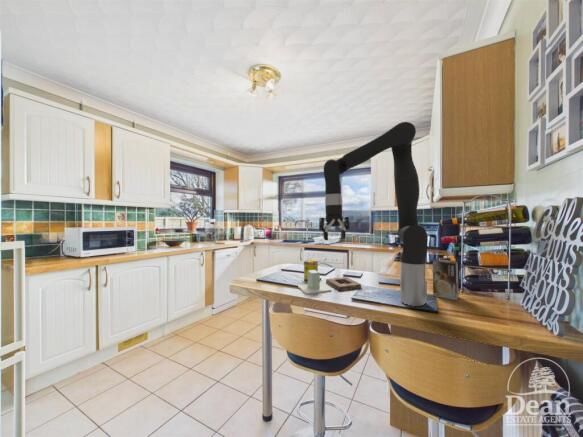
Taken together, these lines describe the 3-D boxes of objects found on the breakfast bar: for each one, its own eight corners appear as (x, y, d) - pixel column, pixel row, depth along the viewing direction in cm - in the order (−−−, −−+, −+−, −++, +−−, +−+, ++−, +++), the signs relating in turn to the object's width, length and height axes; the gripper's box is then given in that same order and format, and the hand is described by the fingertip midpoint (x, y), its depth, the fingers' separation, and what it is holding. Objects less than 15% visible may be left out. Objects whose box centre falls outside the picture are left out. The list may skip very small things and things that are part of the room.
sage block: (314, 285, 121) (314, 269, 121) (319, 288, 116) (319, 272, 115) (307, 285, 120) (307, 270, 120) (312, 289, 114) (312, 273, 114)
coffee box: (458, 296, 104) (459, 261, 104) (456, 301, 100) (456, 263, 99) (435, 292, 111) (435, 258, 110) (432, 295, 106) (432, 261, 106)
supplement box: (312, 282, 129) (312, 262, 129) (303, 280, 133) (303, 261, 133) (318, 279, 134) (318, 260, 134) (309, 277, 138) (309, 259, 137)
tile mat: (319, 283, 126) (319, 282, 126) (330, 291, 114) (330, 289, 114) (297, 286, 122) (297, 284, 122) (306, 294, 110) (306, 292, 109)
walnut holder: (346, 280, 132) (346, 276, 132) (361, 288, 118) (361, 284, 118) (326, 282, 128) (326, 279, 128) (339, 290, 114) (339, 286, 114)
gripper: (322, 204, 101) (324, 241, 101) (351, 203, 105) (352, 239, 105) (316, 205, 108) (317, 239, 108) (343, 204, 112) (344, 237, 113)
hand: (334, 239), depth 107 cm, fingers open, 8 cm apart
